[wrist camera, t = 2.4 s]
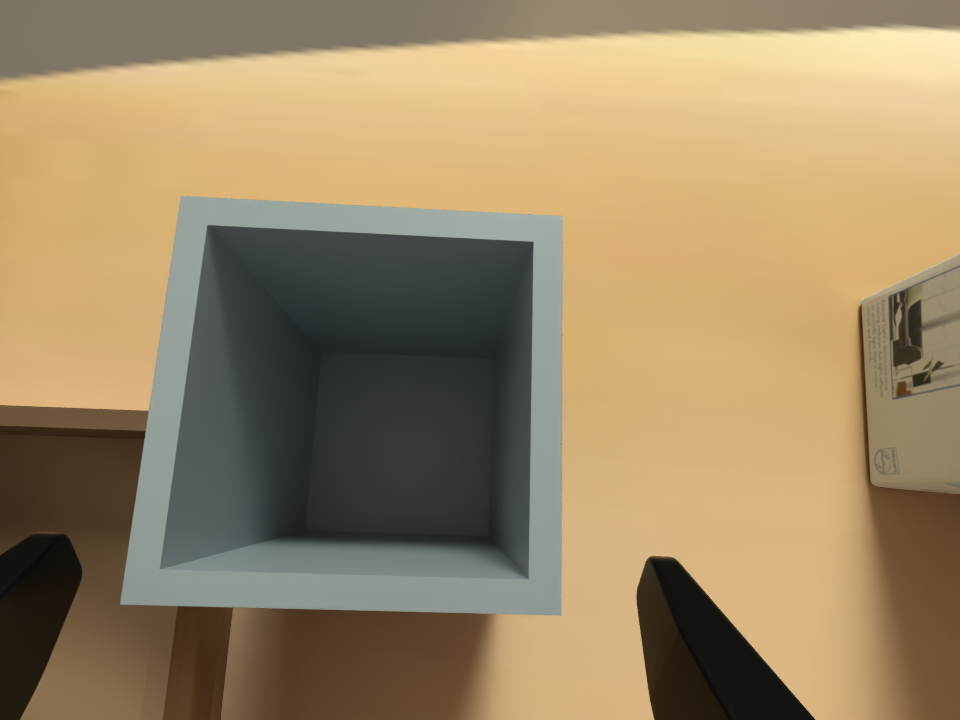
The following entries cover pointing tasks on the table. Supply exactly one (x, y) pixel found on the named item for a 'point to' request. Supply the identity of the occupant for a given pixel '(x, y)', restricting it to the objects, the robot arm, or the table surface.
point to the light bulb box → (914, 381)
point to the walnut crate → (104, 573)
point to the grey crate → (354, 412)
